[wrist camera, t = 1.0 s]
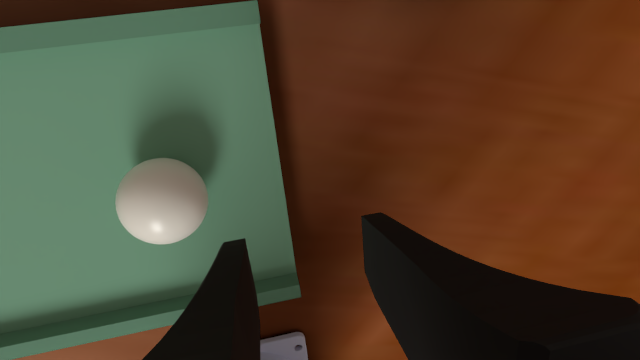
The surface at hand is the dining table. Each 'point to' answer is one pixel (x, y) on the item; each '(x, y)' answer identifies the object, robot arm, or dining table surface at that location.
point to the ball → (161, 201)
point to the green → (119, 158)
